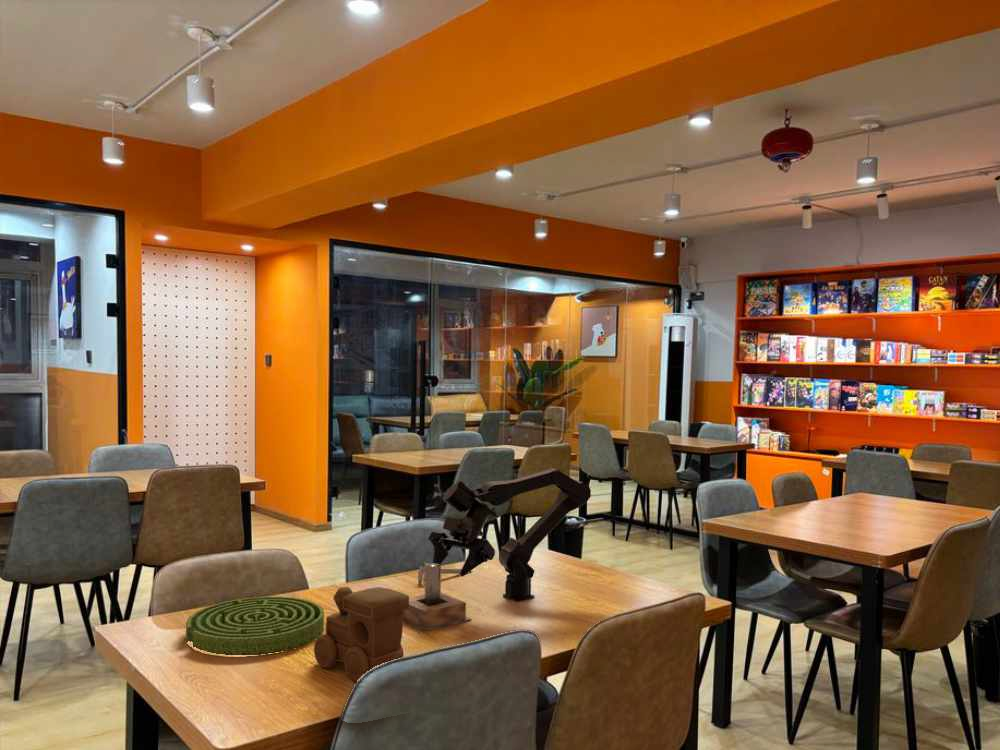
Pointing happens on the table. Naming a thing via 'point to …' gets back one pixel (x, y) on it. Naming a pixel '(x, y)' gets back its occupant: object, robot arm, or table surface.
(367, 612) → the wooden toy train
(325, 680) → the table surface
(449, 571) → the caliper
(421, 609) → the socket block
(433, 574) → the steel pin
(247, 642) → the maze
